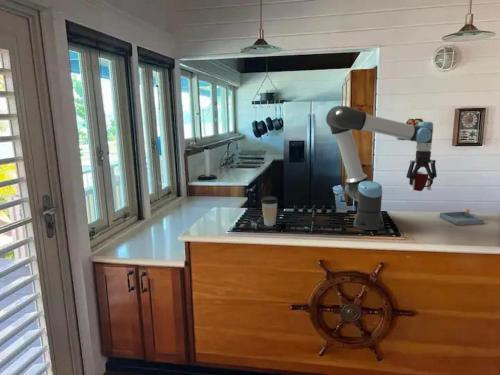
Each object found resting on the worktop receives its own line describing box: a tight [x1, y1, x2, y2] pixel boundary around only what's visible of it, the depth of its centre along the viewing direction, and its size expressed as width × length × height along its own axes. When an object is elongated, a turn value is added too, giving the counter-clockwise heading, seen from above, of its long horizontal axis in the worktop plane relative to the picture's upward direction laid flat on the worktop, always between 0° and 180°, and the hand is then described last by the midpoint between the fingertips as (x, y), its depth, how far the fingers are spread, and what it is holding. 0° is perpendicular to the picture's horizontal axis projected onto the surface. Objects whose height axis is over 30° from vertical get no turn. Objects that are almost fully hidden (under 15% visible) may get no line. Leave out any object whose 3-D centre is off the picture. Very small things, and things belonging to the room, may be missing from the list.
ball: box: [462, 208, 471, 214], centre depth 215 cm, size 4×4×4 cm
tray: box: [439, 210, 485, 226], centre depth 205 cm, size 15×16×2 cm
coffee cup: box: [260, 196, 279, 227], centre depth 204 cm, size 9×9×15 cm
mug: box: [414, 171, 433, 192], centre depth 210 cm, size 11×8×10 cm
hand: (420, 190), depth 211 cm, fingers closed on mug, 9 cm apart
